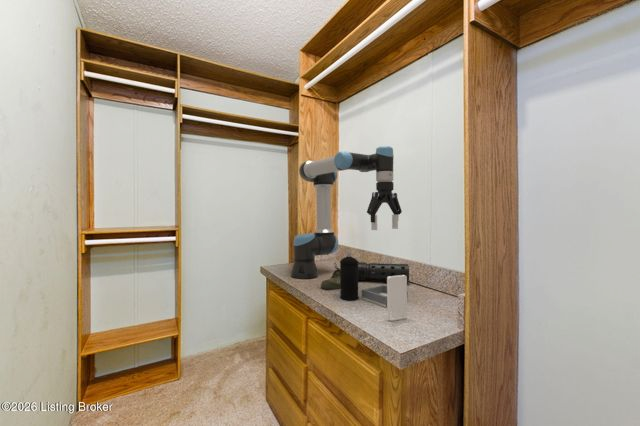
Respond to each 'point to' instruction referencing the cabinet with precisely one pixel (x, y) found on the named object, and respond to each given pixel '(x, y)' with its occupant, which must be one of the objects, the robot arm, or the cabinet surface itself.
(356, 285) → the aerosol can
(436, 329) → the cabinet surface
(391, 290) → the phone case
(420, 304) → the cabinet surface
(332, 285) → the hiking shoe
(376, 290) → the holder
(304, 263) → the robot arm
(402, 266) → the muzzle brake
